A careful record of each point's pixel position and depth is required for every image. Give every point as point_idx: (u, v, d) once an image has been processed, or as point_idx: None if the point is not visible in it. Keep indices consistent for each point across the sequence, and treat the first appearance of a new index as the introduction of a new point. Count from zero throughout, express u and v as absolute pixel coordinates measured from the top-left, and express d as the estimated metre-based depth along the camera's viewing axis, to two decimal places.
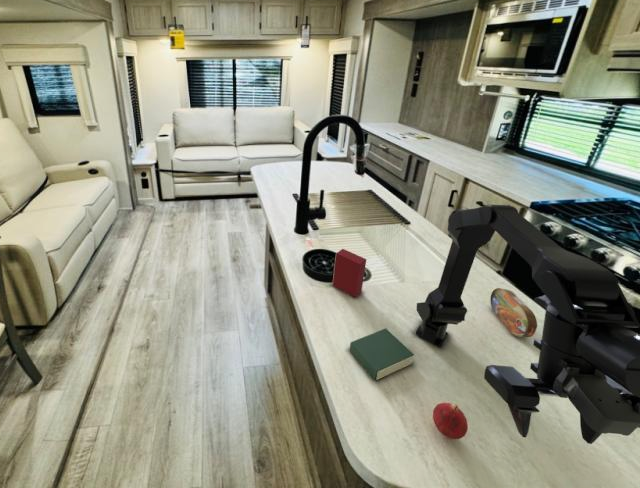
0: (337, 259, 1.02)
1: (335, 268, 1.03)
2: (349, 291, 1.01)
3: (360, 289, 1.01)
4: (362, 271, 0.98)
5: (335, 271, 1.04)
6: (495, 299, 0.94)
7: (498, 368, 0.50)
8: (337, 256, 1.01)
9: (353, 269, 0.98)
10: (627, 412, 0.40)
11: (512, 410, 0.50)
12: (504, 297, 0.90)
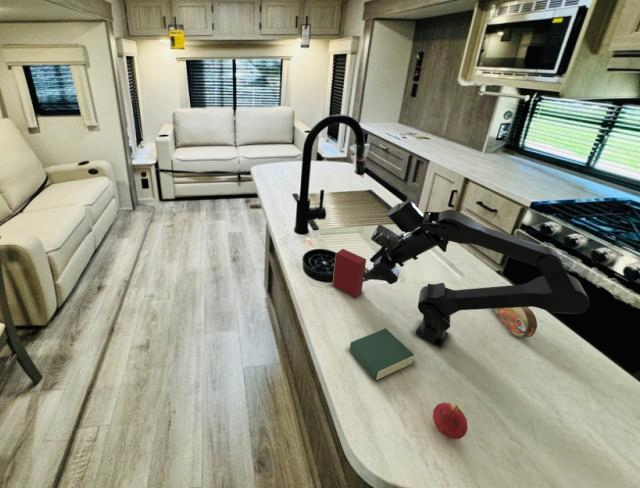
0: (337, 259, 1.02)
1: (335, 268, 1.03)
2: (349, 291, 1.01)
3: (360, 289, 1.01)
4: (362, 271, 0.98)
5: (335, 271, 1.04)
6: None
7: None
8: (337, 256, 1.01)
9: (353, 269, 0.98)
10: (380, 231, 0.83)
11: (382, 256, 0.93)
12: None
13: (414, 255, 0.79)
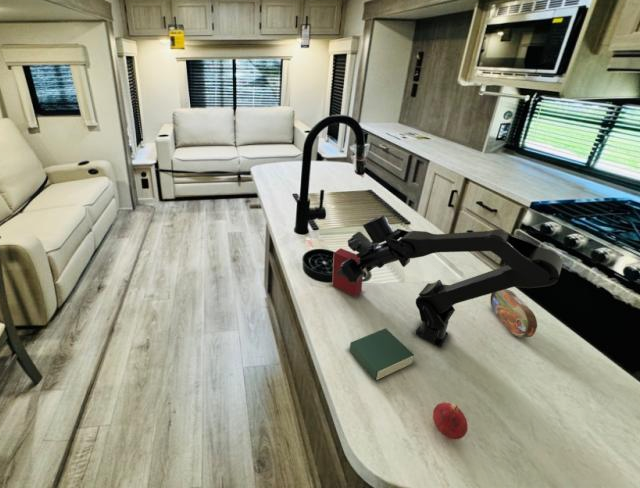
0: (335, 259, 1.02)
1: (334, 268, 1.04)
2: (349, 290, 1.01)
3: (360, 288, 1.01)
4: None
5: (334, 271, 1.04)
6: (495, 299, 0.94)
7: None
8: (335, 256, 1.02)
9: None
10: (356, 237, 0.95)
11: None
12: (504, 297, 0.90)
13: (378, 264, 0.90)
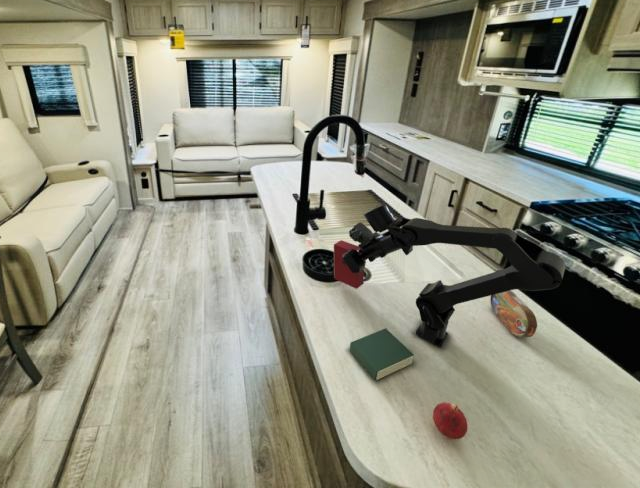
0: (335, 250, 1.01)
1: (335, 260, 1.03)
2: (350, 282, 1.00)
3: (361, 280, 1.00)
4: None
5: (335, 263, 1.03)
6: (495, 299, 0.94)
7: None
8: (335, 247, 1.01)
9: None
10: (357, 228, 0.94)
11: None
12: (504, 297, 0.90)
13: (381, 253, 0.89)
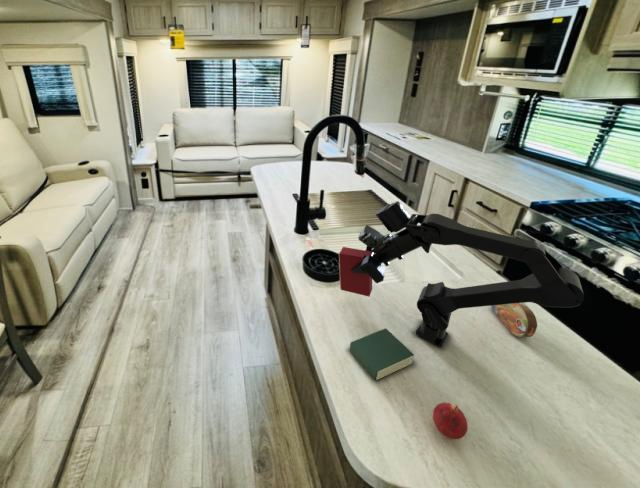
0: (341, 259, 0.92)
1: (341, 270, 0.93)
2: (361, 291, 0.92)
3: (371, 286, 0.93)
4: None
5: (341, 273, 0.94)
6: None
7: None
8: (341, 256, 0.92)
9: None
10: (368, 231, 0.86)
11: None
12: None
13: (399, 255, 0.82)
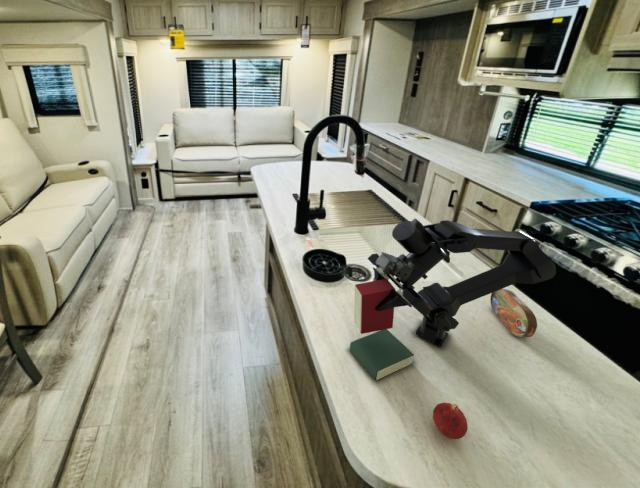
0: (365, 301, 0.76)
1: (363, 313, 0.78)
2: (384, 326, 0.80)
3: None
4: None
5: (363, 316, 0.78)
6: (495, 299, 0.94)
7: None
8: (364, 298, 0.76)
9: None
10: (392, 260, 0.74)
11: None
12: (504, 297, 0.90)
13: (425, 275, 0.75)
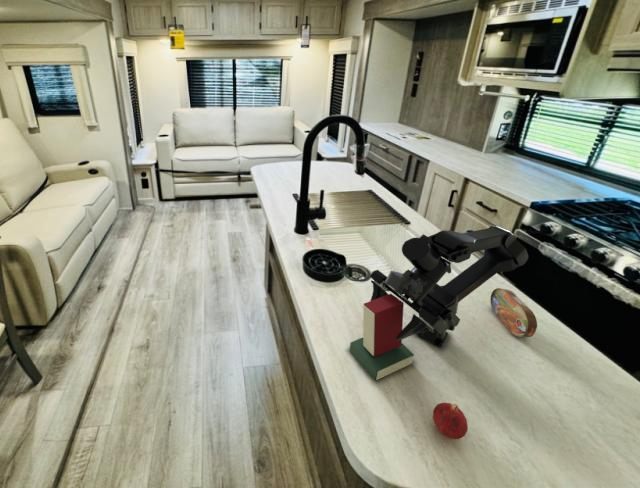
0: (377, 319, 0.73)
1: (376, 333, 0.74)
2: (394, 344, 0.77)
3: None
4: None
5: (376, 336, 0.74)
6: (495, 299, 0.94)
7: None
8: (377, 316, 0.73)
9: (397, 315, 0.75)
10: (404, 279, 0.71)
11: None
12: (504, 297, 0.90)
13: (432, 289, 0.74)
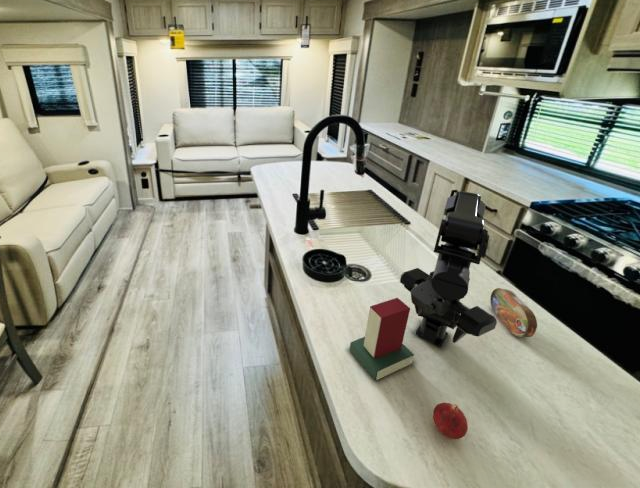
0: (383, 323, 0.72)
1: (379, 336, 0.74)
2: (395, 347, 0.78)
3: None
4: None
5: (379, 339, 0.74)
6: (495, 299, 0.94)
7: (418, 270, 0.76)
8: (383, 320, 0.72)
9: (402, 319, 0.74)
10: (426, 299, 0.65)
11: None
12: (504, 297, 0.90)
13: None
